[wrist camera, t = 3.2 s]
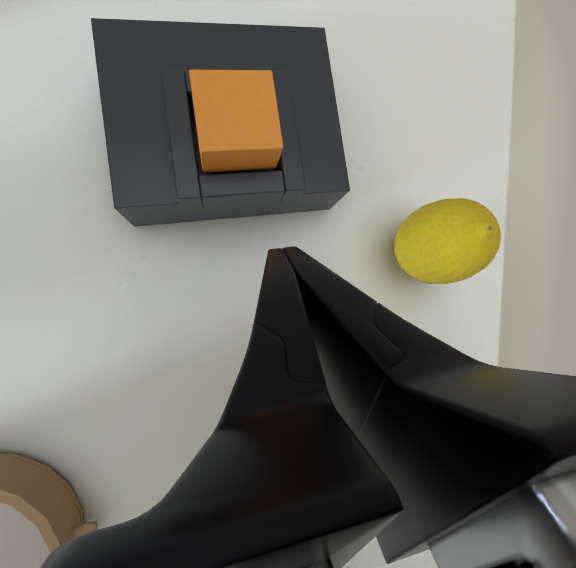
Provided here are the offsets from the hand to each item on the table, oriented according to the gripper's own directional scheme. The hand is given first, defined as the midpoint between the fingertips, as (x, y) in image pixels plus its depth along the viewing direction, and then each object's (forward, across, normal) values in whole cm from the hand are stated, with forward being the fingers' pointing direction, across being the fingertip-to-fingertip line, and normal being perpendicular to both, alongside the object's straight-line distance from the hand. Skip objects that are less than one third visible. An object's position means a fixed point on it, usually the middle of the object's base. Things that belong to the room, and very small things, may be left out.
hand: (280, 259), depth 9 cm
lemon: (+10, -13, +9) cm, 19 cm away
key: (+11, 0, 0) cm, 11 cm away
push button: (+17, 0, +2) cm, 17 cm away
